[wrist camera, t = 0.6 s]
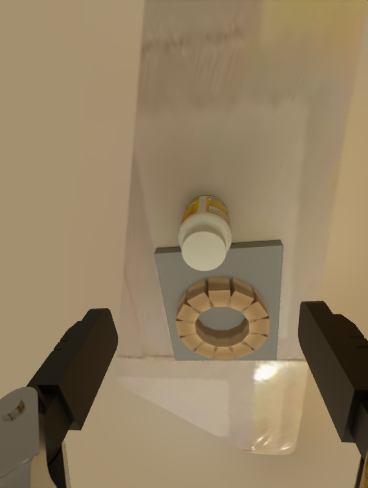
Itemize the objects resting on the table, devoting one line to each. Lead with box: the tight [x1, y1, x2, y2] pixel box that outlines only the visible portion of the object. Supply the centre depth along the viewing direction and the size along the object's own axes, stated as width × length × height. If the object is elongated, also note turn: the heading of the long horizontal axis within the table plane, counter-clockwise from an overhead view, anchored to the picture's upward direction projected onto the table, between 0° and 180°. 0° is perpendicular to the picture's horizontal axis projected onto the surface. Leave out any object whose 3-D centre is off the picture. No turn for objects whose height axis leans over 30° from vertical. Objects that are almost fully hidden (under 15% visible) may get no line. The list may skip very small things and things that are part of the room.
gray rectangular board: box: [154, 240, 283, 360], centre depth 35 cm, size 20×16×2 cm
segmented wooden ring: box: [176, 276, 270, 359], centre depth 33 cm, size 12×12×3 cm
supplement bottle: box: [178, 196, 232, 271], centre depth 25 cm, size 5×5×10 cm
